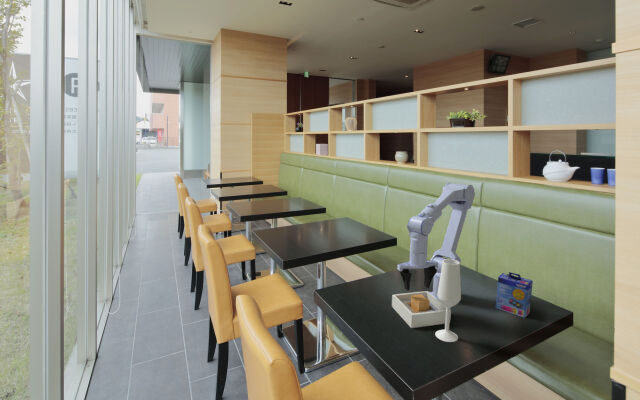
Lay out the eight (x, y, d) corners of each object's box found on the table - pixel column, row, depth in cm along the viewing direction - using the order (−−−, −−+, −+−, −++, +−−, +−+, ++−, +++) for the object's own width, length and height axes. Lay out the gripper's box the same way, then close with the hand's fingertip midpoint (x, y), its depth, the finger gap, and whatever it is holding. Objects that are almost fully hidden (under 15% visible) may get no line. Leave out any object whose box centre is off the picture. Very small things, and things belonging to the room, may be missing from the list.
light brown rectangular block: (420, 310, 123) (421, 294, 122) (428, 316, 119) (429, 300, 118) (410, 311, 122) (411, 295, 121) (418, 318, 118) (419, 302, 116)
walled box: (426, 302, 129) (427, 291, 128) (450, 322, 114) (450, 310, 114) (391, 306, 126) (392, 294, 125) (411, 328, 112) (411, 315, 111)
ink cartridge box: (494, 308, 124) (497, 270, 121) (499, 303, 128) (503, 266, 125) (525, 318, 117) (529, 278, 115) (529, 312, 121) (534, 273, 118)
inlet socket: (425, 306, 126) (425, 298, 126) (440, 319, 116) (441, 311, 116) (399, 309, 124) (400, 301, 123) (413, 323, 114) (413, 314, 114)
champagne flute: (450, 328, 111) (455, 257, 107) (462, 340, 104) (468, 265, 100) (431, 330, 110) (435, 258, 106) (441, 343, 103) (446, 266, 99)
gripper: (431, 245, 124) (429, 281, 127) (393, 249, 121) (392, 285, 123) (442, 252, 117) (440, 289, 120) (403, 255, 114) (401, 294, 117)
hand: (416, 288), depth 121 cm, fingers open, 7 cm apart
